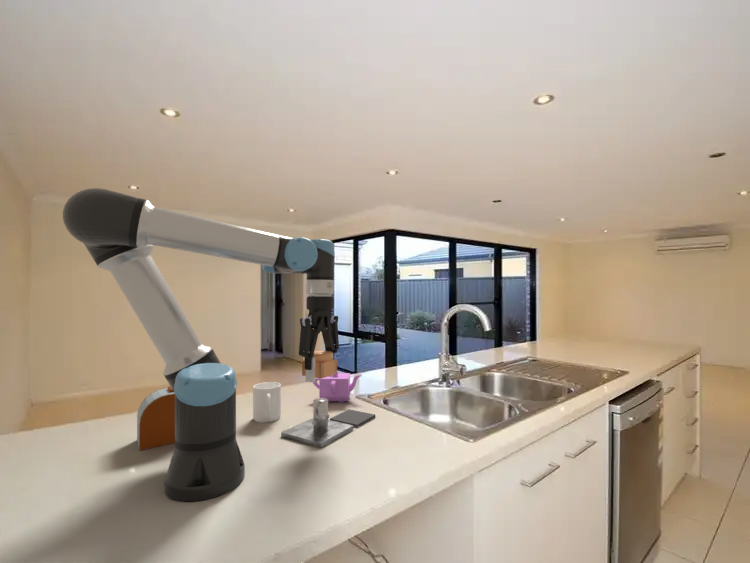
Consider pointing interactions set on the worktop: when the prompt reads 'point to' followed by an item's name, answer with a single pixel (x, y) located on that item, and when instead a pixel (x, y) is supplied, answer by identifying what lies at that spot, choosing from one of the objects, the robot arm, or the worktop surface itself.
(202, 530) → the worktop surface
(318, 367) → the cap
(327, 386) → the teapot
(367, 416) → the pad
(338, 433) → the post fixture
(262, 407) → the cup
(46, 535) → the worktop surface
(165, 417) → the orange rounded block
